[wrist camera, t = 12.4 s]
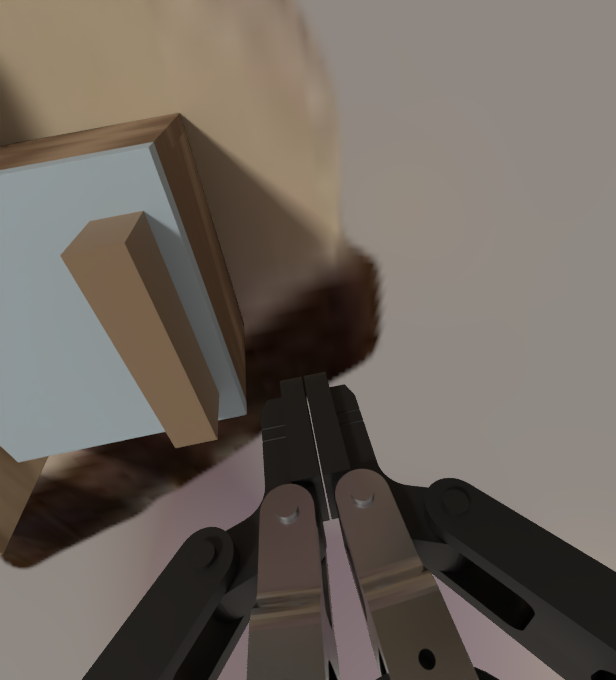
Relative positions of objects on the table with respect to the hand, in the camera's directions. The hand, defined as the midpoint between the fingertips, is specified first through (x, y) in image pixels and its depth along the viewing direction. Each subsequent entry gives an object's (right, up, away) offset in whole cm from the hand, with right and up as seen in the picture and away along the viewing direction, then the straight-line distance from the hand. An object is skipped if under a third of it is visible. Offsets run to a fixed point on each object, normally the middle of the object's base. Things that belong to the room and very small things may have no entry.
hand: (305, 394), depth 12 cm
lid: (-11, +2, +5) cm, 12 cm away
